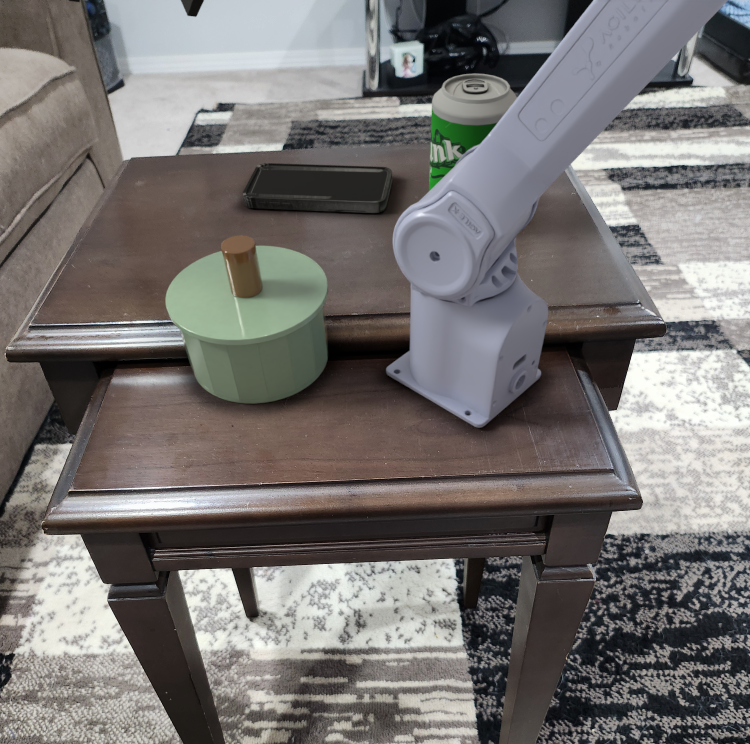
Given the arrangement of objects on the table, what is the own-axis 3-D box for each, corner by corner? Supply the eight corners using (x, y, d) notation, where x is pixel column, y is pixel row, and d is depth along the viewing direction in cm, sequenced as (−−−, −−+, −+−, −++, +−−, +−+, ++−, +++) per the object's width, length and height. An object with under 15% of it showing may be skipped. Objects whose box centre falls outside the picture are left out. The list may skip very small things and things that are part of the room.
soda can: (499, 199, 69) (515, 69, 60) (506, 237, 65) (524, 102, 55) (427, 200, 70) (431, 70, 60) (428, 238, 65) (433, 104, 56)
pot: (356, 353, 54) (352, 290, 50) (253, 424, 50) (238, 362, 45) (267, 301, 59) (256, 239, 55) (165, 361, 54) (144, 299, 50)
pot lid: (362, 296, 50) (358, 238, 47) (238, 376, 45) (224, 317, 41) (258, 241, 56) (248, 185, 52) (137, 306, 50) (116, 249, 47)
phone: (258, 162, 73) (393, 166, 72) (259, 173, 74) (393, 177, 73) (239, 198, 69) (384, 203, 67) (241, 208, 69) (384, 213, 68)
